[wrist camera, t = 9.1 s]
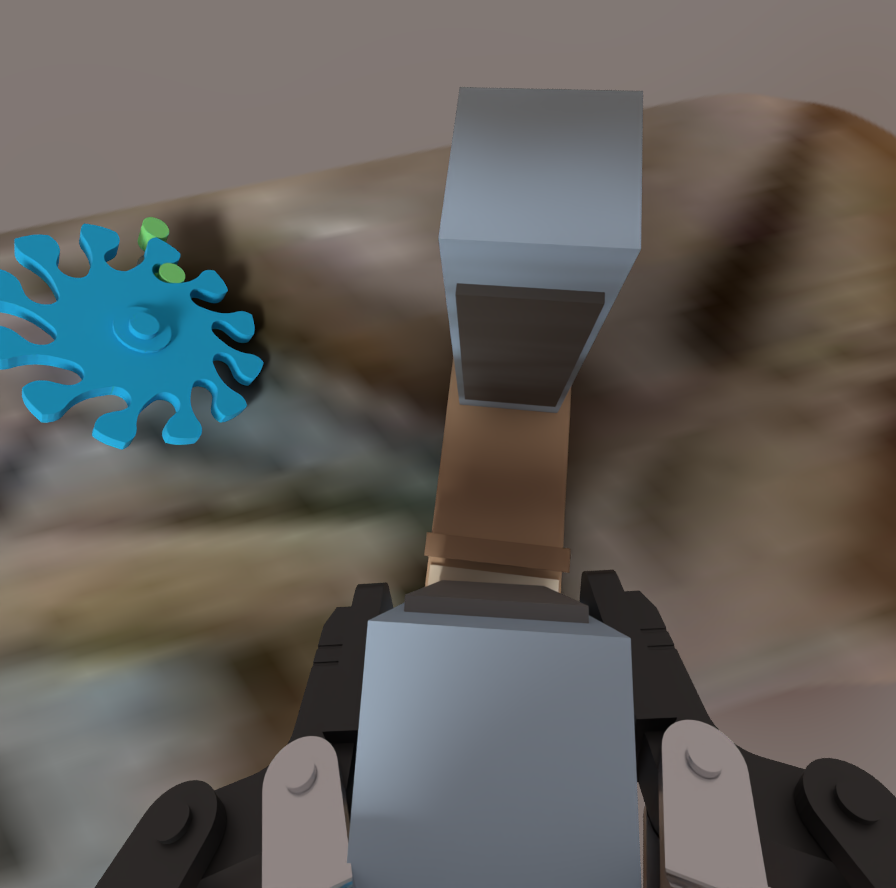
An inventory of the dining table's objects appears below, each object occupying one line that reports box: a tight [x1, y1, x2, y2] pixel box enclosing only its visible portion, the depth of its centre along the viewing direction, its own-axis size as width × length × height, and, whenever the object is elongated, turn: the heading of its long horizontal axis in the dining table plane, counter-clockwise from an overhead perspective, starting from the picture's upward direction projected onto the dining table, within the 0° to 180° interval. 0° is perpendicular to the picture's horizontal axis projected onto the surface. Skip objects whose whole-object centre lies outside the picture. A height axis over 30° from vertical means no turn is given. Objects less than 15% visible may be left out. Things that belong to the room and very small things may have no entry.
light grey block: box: [347, 580, 641, 888], centre depth 11 cm, size 4×4×10 cm
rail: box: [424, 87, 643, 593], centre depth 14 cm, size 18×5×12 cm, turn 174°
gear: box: [0, 217, 264, 450], centre depth 21 cm, size 11×6×10 cm
